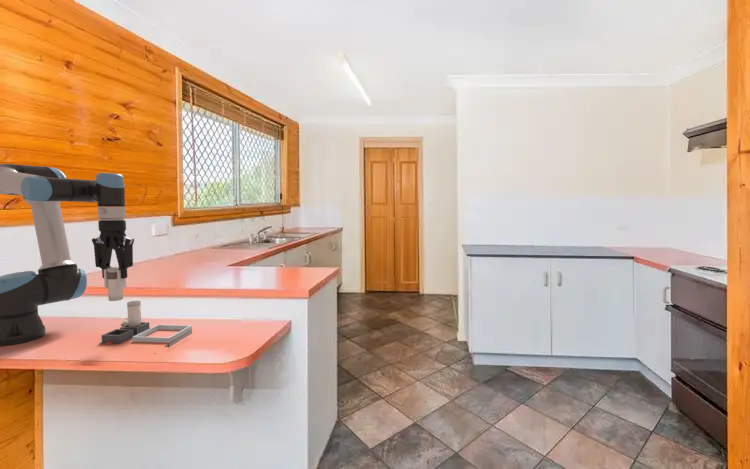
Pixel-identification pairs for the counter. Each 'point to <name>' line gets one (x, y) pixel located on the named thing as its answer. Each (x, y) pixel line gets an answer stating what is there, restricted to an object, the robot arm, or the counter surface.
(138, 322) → the cylinder
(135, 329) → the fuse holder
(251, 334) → the counter surface
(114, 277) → the cylinder
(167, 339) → the grey square frame
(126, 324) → the coral
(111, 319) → the counter surface
